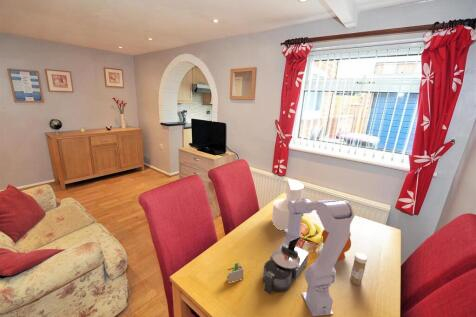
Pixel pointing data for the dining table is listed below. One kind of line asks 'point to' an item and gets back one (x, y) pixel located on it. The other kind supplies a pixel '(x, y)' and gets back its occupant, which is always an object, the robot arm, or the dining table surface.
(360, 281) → the sprinkles bottle
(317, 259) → the robot arm
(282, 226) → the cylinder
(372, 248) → the dining table surface
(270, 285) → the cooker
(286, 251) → the lid
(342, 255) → the orange lumpy piece
